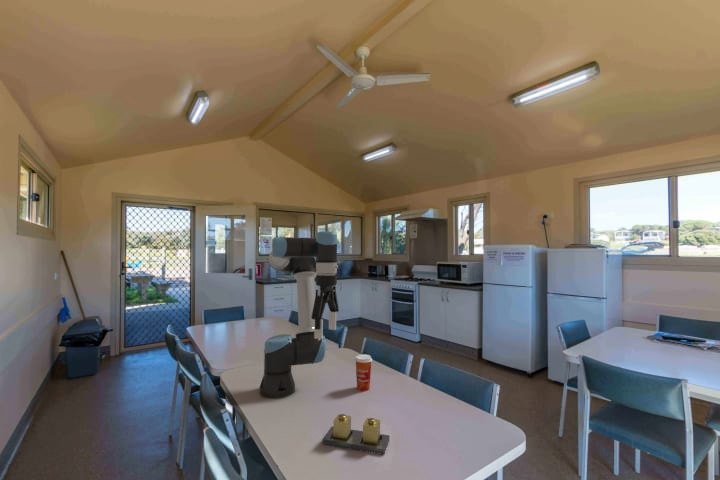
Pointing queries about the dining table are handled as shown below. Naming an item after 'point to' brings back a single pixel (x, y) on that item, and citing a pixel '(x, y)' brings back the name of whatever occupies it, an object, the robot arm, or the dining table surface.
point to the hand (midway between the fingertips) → (325, 333)
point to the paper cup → (363, 372)
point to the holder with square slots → (362, 438)
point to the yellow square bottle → (342, 427)
